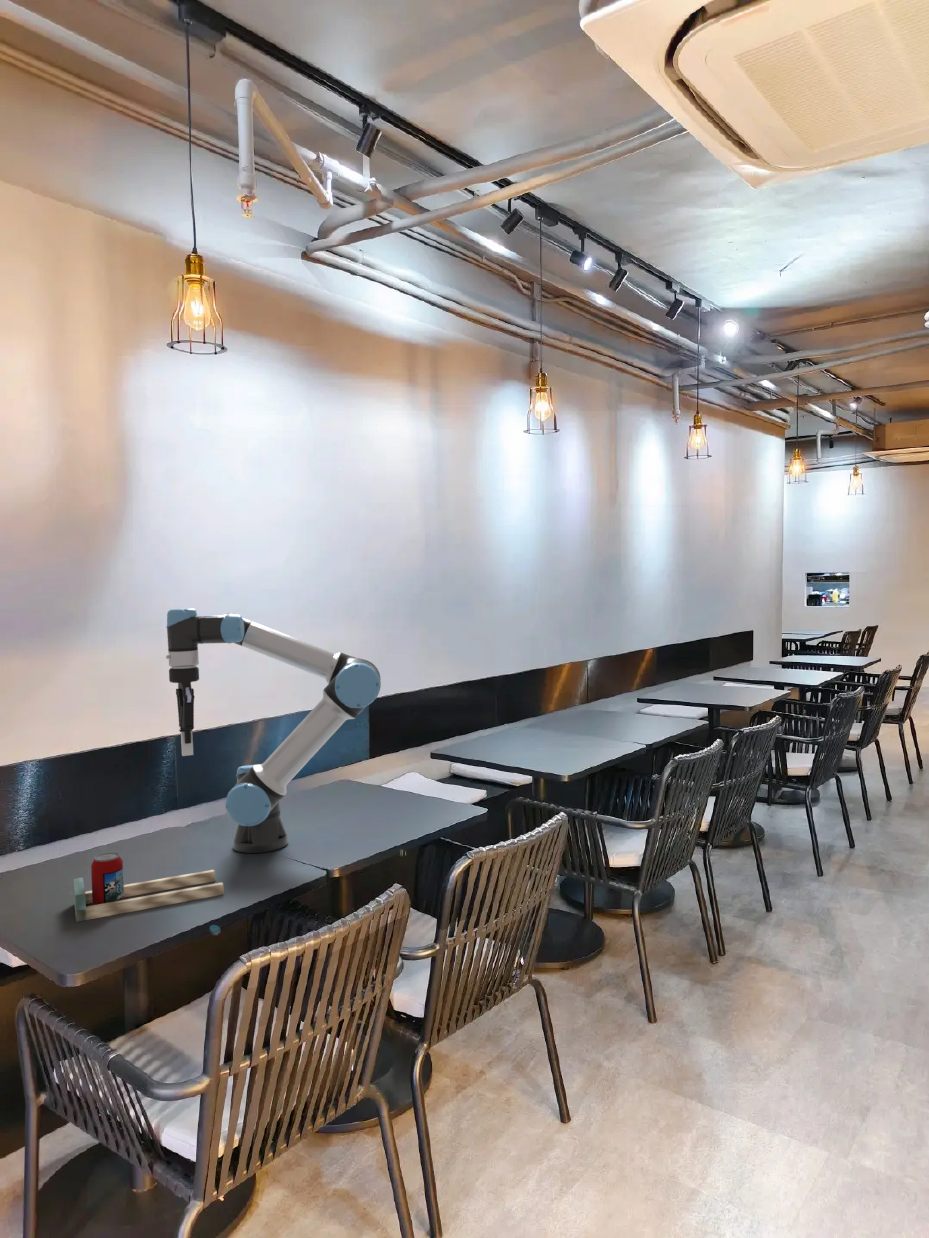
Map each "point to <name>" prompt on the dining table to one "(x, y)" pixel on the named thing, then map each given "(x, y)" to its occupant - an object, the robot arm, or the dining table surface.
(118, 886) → the beverage can
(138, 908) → the channel
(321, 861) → the dining table surface
